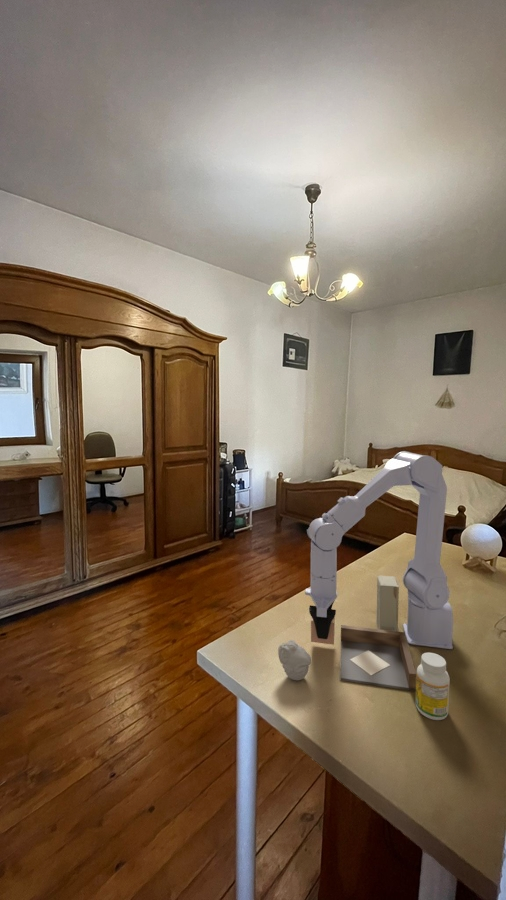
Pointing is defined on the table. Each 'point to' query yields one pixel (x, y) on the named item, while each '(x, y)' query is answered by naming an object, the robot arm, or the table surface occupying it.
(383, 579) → the skincare box
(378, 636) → the tray
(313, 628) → the cube
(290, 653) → the frog figurine
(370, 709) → the table surface
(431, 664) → the supplement bottle
